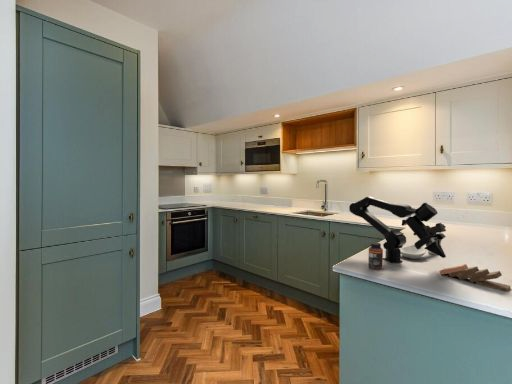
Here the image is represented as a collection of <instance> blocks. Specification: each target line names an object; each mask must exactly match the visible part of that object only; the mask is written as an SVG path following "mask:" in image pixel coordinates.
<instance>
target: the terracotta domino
mask: <svg viewBox="0 0 512 384" xmlns="http://www.w3.org/2000/svg"><path fill="white" fill-rule="evenodd" d="M467 268H469V266H468V265H467V264H466V263H465V264H461V265H456V266H451V267H446V268H442V269H440V270H439V271H438V272H439V274H440V275H446V274H449V273H452V272H457V271H462V270H465V269H467Z"/></svg>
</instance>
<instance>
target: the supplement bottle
mask: <svg viewBox="0 0 512 384" xmlns="http://www.w3.org/2000/svg"><path fill="white" fill-rule="evenodd" d="M383 249H384V248H382V247H381V242H375V241H372V242H371V243H370V247H368V260H367V261H368V265H367V266H368V268H370V269H372V270H376V271H377V270H382V269H383V266H384V265H383V261H384V259H383V258H384V255H383V254H384V250H383Z"/></svg>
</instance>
